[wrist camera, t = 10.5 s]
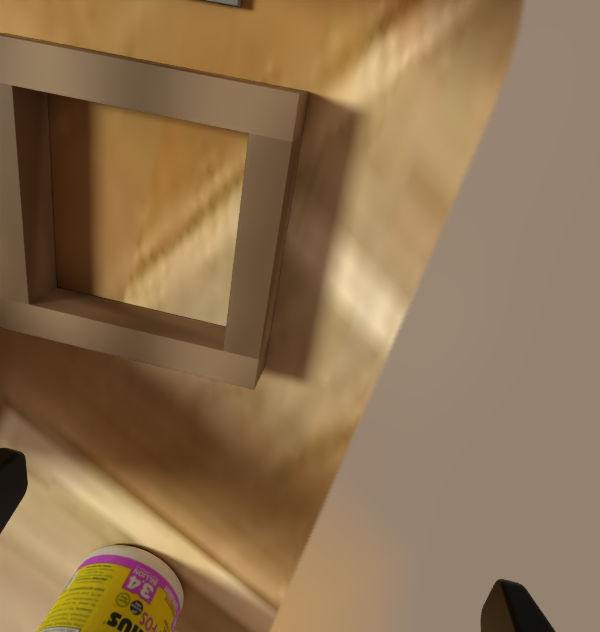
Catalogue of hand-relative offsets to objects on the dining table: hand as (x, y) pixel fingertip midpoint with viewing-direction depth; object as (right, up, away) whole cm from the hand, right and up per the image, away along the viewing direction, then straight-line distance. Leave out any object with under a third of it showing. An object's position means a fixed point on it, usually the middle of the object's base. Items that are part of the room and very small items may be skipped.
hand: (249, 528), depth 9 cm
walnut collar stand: (-5, +8, +12) cm, 15 cm away
